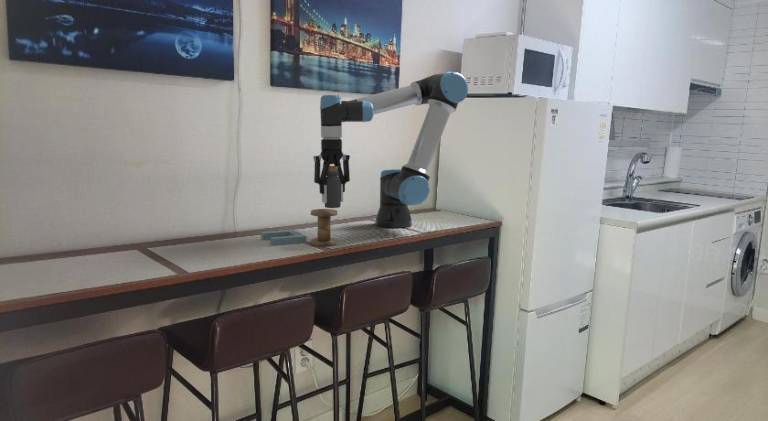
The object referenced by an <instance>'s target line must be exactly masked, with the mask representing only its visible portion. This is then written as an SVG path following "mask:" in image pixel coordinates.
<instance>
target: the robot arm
mask: <svg viewBox="0 0 768 421" xmlns="http://www.w3.org/2000/svg"><path fill="white" fill-rule="evenodd" d="M468 92H469V85H468V83H467V79H466V78H465V76H463V74H461V73H459V72H457V71H446V72H444V73H443V72H442V73H436V74H432V75H430V76H427V77H425V78H422V79H419V80H416V81H412V82H410V84H409V85H406V86H402V87H398V88H394V89H391V90H386V91H383V92H378V93H374V94H371V95H367V96H363V97H360V98H359V97H358V98H356V99H351V100H343V99H342V96H341V95H340V94H324V95H321V97H320V100H319V101H320V102H319V110H320V138H322V139H321V140H320V146H321V147H320V149H321V151H320V154H318V155H313V160H314V171H313V172H314V175H313V176H314V178H313V182H314V184H317V185H319V188H318V189H319V194H320V195H321V202H322V203H323V204H325V203H327V185H324V184H325V180H326V177H327V172H328V167H330V166H331V165H333V166H338V171H339V174H338V177H339V178H340V197H341V203H342V202H344V193H345V191H346V184H347V183H349V182H350V181H351V180H350V179H351V177H350V164H349V163H350V157H351V156H350V155H349V154H344V152H343V150H342V149H343V140H342V137H343V131H342V129H343V128H342V127H343V124H342V123H366V122H367V123H369V122H371V121H372V120H373V117H374V115H376V114H381V113H385V112H389V111H392V110H396V109H401V108H404V107H408V106H412V105H415V106H421V105H429V107H428V109H427V111H426V115H425V117H424V119H423V122H422V124H421V126H420V127H421V128H420V130H419V133H418V136H417V138H416V141H415V143H414V146H413V147H412V151H411V152H410V153H411V154H410V156H409V158H408V160H407V163H405V164H403V165H401V168H399V169H397V168H396V169H384V170H382V171H380V177H379V180H380V182H379V183H380V185H379V188H380V189H379V191H380V192H379V207H378V210H377V214H376V216H375V220H374V221H375V223H374V224H375V226H377V227H381V228H393V229H395V228H396V229H397V228H398V229H399V228H409V227H412V225H413V224H412V223H413V222H412V221H413V220H412V217H411V214H410V213H411V212H410V210H409V206H418V205H420V204H422V203H423V202H425V201H426V200H427V198H428V197H429V194H430V192H431V188H430V187H431V186H430V183H429V182H430V178H431V175H430V172H429V170H430V167H431V166H432V162H433V159H434V157H435V154H436V152H437V149H438V147H439V144H440V140H441V138H442V136H443V133H444V130H445V129H446V125H447V122H448V120H449V119H450V118H449V117H450V115H451V114H453V113H455V112H456V111H457V107H458V105H459V103H462V102H463V101H464V100H465V99H466V98H467V97H468V96H467V95H468ZM341 159H342V164H341ZM321 160H322V161H323V163H322V169H321ZM342 168H343V170H342Z"/></svg>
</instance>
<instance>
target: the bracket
mask: <svg viewBox="0 0 768 421" xmlns="http://www.w3.org/2000/svg"><path fill="white" fill-rule="evenodd" d="M260 236H261V237H260V238H261V240H262V241H270V242H269V243H270V245H271V246H272V247H275V246H276V247H277V246H278V247H279V246H287V245H296V244H297V245H298V244H307V243H308V242H307V238H308V236H307V235H305V234H303V233H301V232H299V231H297V230H295V229H286V230H283V229H282V230H272V231H261V233H260Z"/></svg>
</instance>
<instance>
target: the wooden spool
mask: <svg viewBox="0 0 768 421" xmlns="http://www.w3.org/2000/svg"><path fill="white" fill-rule="evenodd" d="M310 215H311V216H313V217H317V237H315V238H314V237H313V238H311V239H310V245H311V246H315V247H333V246H336V245H337V244H338V239H337V238H333V237H331V220H332V219H331V218H332V217H336V216H337V215H338V210H337V209H333V208H318V209H317V208H316V209H312V210H310Z"/></svg>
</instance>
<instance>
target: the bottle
mask: <svg viewBox="0 0 768 421" xmlns="http://www.w3.org/2000/svg"><path fill="white" fill-rule="evenodd" d="M338 174H339V171H338V166H334V165H330V167H328V172H327V176H326V180H325V184H324V185H327V203H324V207H325V209H337V208H341V205H342V204H341V203H342V202H341V197H340V178H339V177H338Z"/></svg>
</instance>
